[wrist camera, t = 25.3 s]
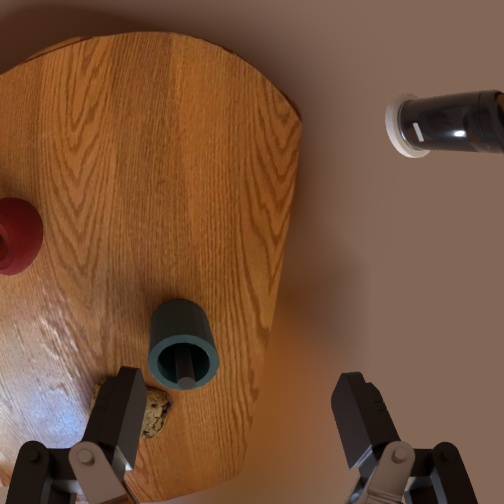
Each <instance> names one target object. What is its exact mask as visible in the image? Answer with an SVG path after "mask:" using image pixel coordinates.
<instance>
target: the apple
mask: <svg viewBox="0 0 504 504" xmlns="http://www.w3.org/2000/svg"><path fill="white" fill-rule="evenodd" d="M42 240H43V223H42V219H41V216H40V214H39V213H38V211H37V210H36V209H35V207H34V206H32V205H31V204H30V203H28V202H27V201H25V200H22V199H18V198H3V199H0V274H3V275H8V276H9V275H15V274H18V273H20V272H22V271H23V270H25V269H26V268H27V267H28V266H29V265H30V264H31V263H32V262H33V260H34V259H35V258H36V256H37V254H38V252H39V250H40V248H41V244H42Z"/></svg>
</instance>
